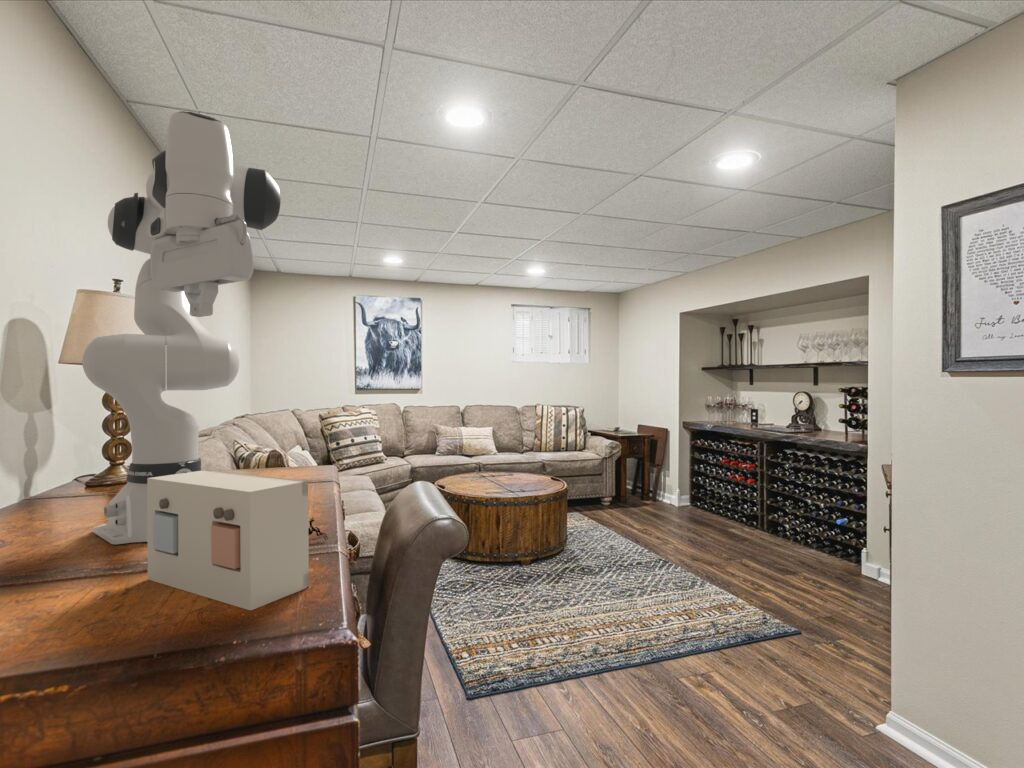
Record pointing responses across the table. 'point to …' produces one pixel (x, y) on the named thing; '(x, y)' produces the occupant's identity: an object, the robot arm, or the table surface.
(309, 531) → the creature
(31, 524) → the table surface
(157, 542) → the button one
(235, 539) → the button two
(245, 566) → the block
